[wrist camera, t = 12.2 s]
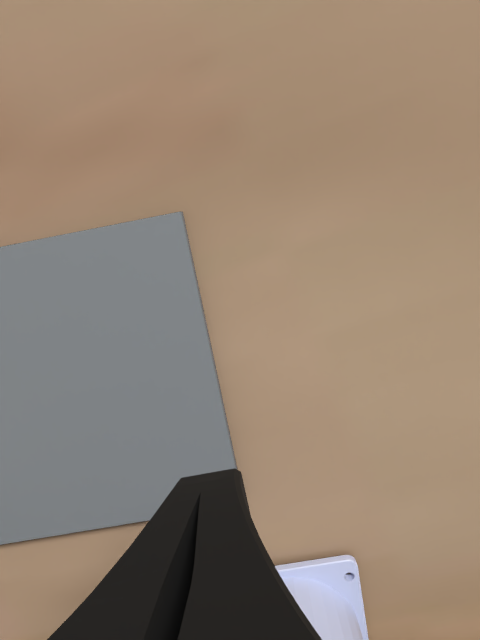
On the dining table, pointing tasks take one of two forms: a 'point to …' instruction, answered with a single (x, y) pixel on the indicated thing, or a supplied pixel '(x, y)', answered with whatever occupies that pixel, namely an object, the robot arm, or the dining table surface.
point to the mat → (103, 378)
